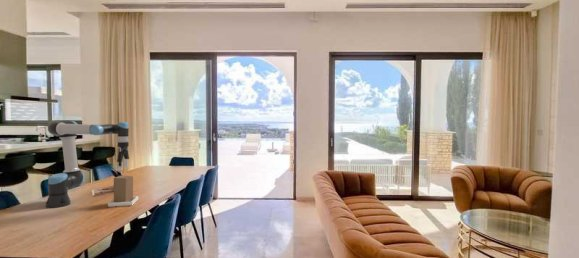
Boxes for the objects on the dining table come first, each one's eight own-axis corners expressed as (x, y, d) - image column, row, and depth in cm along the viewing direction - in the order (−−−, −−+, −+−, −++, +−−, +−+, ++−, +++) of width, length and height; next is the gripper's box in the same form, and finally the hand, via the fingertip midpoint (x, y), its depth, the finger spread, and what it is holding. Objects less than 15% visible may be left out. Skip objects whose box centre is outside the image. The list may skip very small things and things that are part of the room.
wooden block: (133, 200, 247) (133, 175, 246) (125, 203, 237) (125, 178, 236) (121, 199, 247) (121, 175, 247) (113, 203, 238) (113, 177, 237)
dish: (107, 206, 232) (107, 202, 232) (115, 200, 249) (115, 196, 248) (132, 205, 236) (132, 202, 235) (138, 199, 252) (138, 196, 252)
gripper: (123, 143, 228) (123, 171, 229) (133, 140, 253) (133, 165, 254) (112, 143, 227) (112, 171, 228) (123, 140, 251) (123, 165, 252)
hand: (123, 168), depth 241 cm, fingers open, 13 cm apart
